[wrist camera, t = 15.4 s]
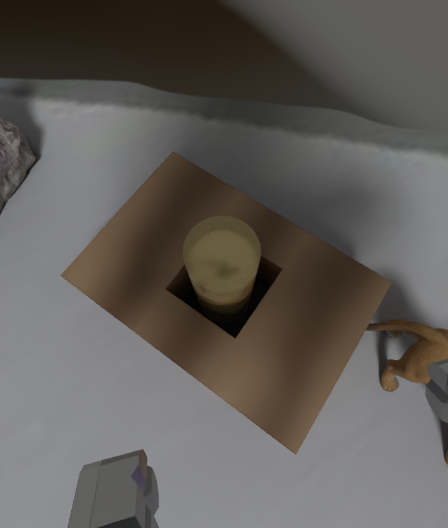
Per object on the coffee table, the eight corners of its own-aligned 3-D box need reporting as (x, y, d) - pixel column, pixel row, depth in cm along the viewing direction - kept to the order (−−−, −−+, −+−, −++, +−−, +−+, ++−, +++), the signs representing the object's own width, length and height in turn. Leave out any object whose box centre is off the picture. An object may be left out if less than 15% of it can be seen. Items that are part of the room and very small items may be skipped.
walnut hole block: (90, 294, 27) (60, 275, 22) (181, 187, 30) (172, 151, 25) (282, 440, 23) (295, 454, 18) (362, 300, 26) (392, 282, 21)
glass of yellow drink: (189, 304, 26) (166, 260, 17) (218, 264, 27) (212, 202, 18) (230, 333, 25) (231, 304, 16) (259, 291, 27) (276, 241, 17)
